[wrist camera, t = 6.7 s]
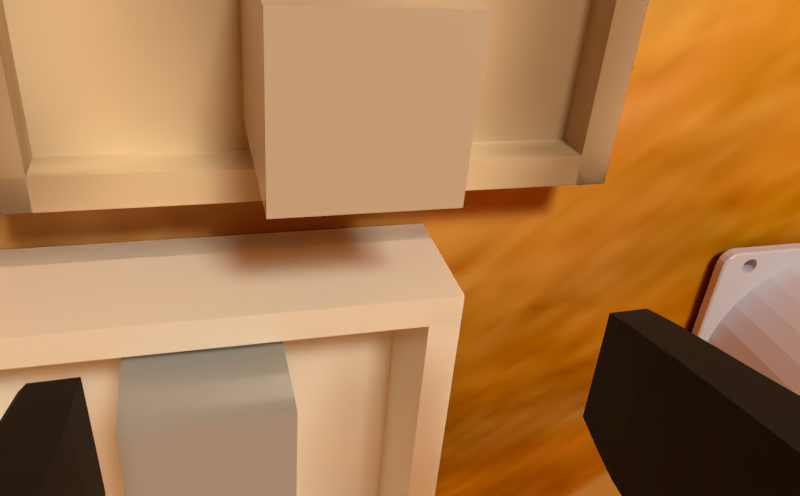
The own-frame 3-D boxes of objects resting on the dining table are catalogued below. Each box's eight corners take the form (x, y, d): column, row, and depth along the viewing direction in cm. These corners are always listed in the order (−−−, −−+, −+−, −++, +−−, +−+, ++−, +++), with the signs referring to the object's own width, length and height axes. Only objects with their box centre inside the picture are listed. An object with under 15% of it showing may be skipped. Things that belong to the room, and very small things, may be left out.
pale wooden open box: (422, 223, 20) (464, 295, 17) (390, 515, 26) (418, 604, 24) (-72, 254, 17) (-119, 348, 14) (22, 578, 23) (2, 689, 20)
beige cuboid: (413, -45, 16) (490, 9, 12) (400, 117, 17) (463, 207, 14) (238, -52, 15) (263, 5, 11) (243, 120, 16) (266, 219, 13)
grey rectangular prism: (272, 291, 19) (297, 411, 16) (273, 395, 21) (296, 525, 17) (125, 303, 18) (114, 435, 15) (139, 411, 20) (133, 552, 16)
